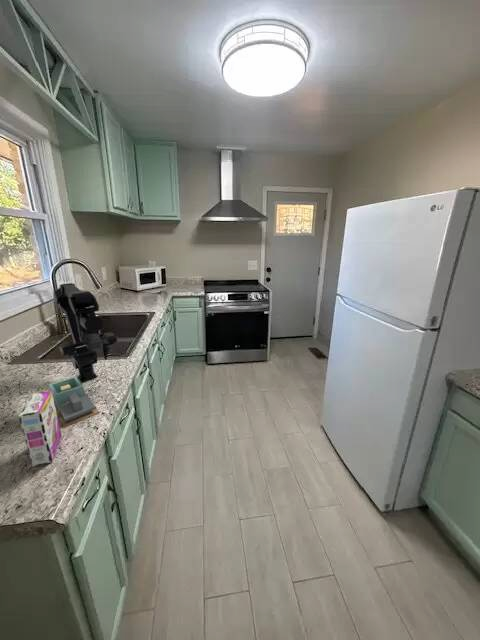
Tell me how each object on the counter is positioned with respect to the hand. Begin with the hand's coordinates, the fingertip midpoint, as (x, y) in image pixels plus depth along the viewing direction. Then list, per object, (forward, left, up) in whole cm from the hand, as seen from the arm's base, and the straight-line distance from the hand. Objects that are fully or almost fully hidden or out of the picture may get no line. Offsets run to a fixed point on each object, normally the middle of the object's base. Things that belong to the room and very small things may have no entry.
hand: (93, 363), depth 105 cm
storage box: (-2, -10, -12) cm, 16 cm away
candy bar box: (+24, -21, -12) cm, 34 cm away
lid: (+10, -10, -12) cm, 18 cm away
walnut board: (+10, -10, -12) cm, 19 cm away
